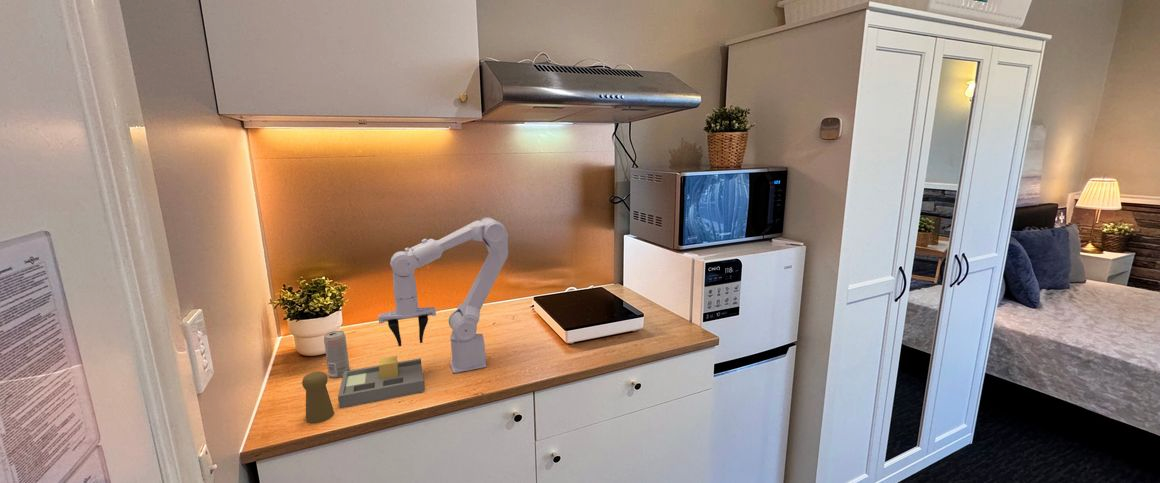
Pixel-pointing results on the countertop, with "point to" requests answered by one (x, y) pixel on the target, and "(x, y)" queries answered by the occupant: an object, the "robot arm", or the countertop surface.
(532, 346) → the countertop surface
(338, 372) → the energy drink
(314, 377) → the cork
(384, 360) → the block
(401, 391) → the trap tray
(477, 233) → the robot arm
